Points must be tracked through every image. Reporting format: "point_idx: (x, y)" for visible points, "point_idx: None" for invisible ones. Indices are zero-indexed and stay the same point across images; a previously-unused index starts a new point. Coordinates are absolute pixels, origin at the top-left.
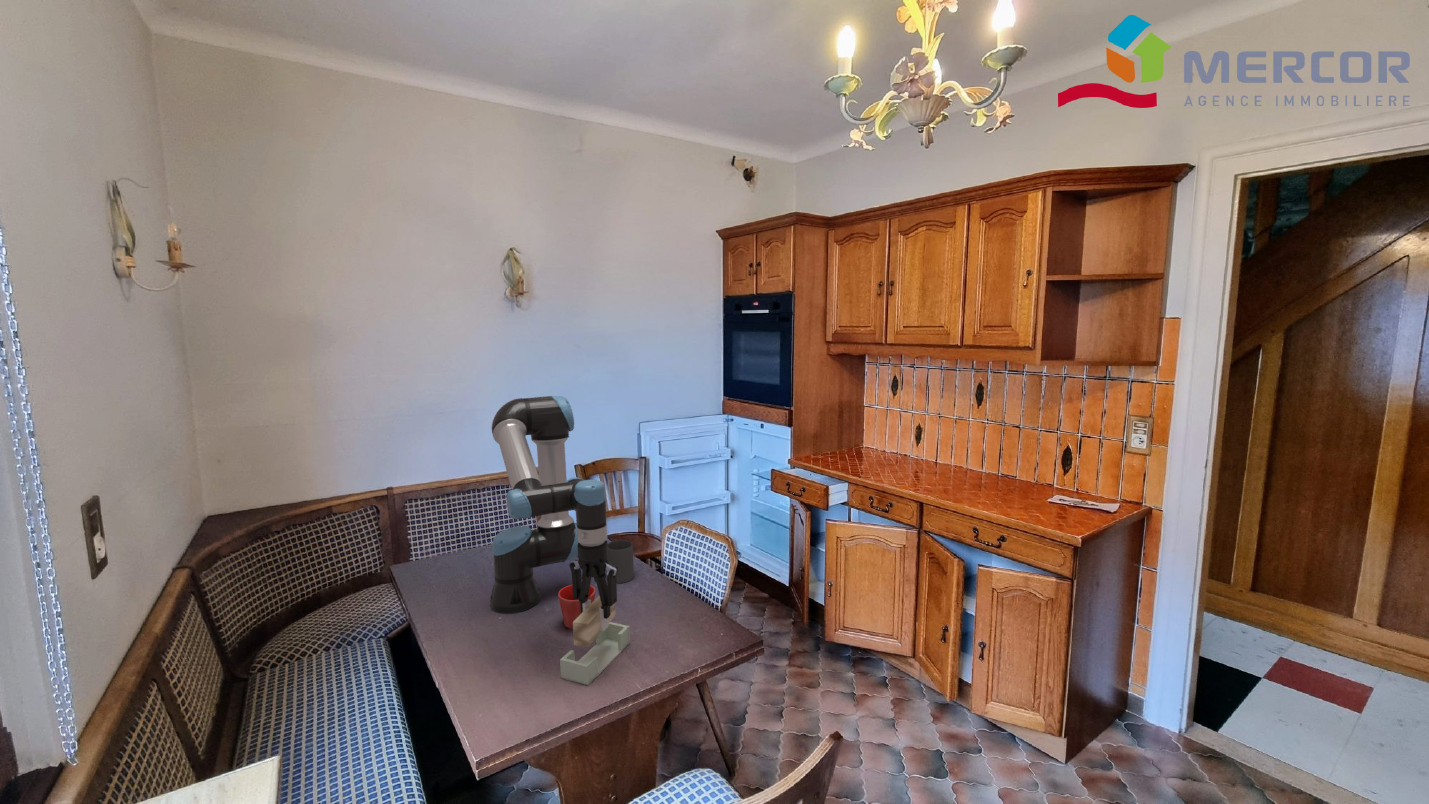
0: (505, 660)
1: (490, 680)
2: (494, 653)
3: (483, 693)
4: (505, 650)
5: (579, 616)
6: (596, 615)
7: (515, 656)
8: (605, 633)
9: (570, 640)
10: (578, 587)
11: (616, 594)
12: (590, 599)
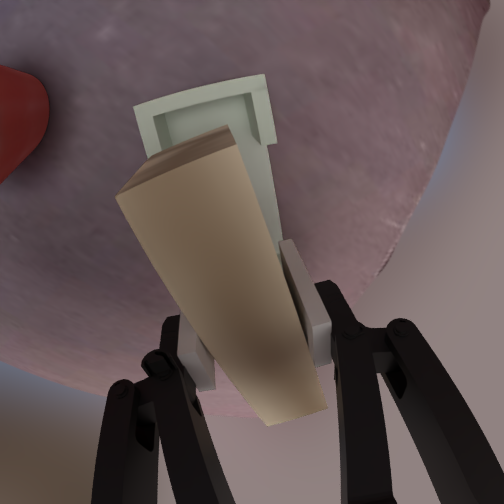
0: (65, 327)
1: (113, 367)
2: (32, 323)
3: None
4: (31, 308)
5: (256, 406)
6: (314, 366)
7: (62, 311)
8: (161, 117)
9: (78, 190)
10: (146, 461)
11: (436, 359)
12: (3, 108)
